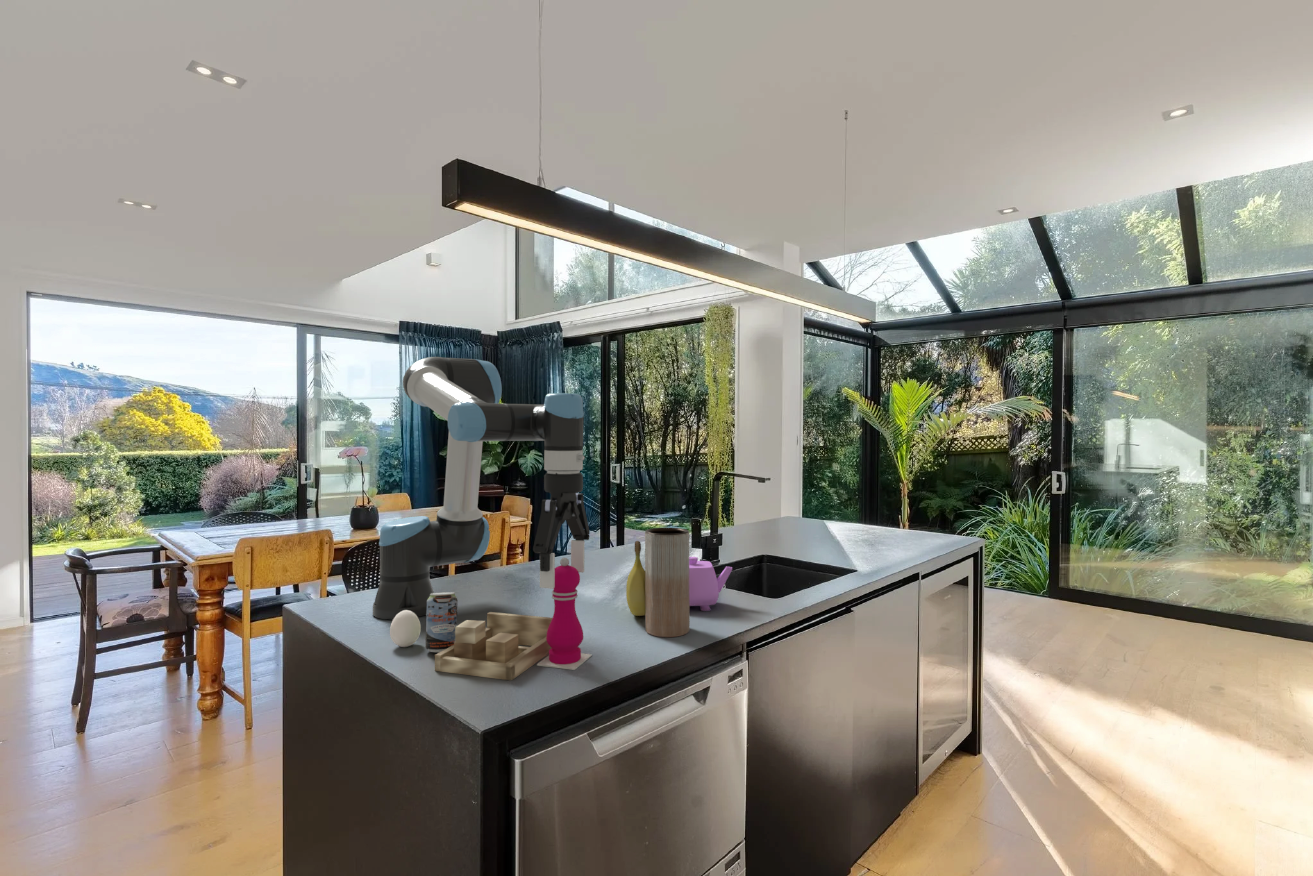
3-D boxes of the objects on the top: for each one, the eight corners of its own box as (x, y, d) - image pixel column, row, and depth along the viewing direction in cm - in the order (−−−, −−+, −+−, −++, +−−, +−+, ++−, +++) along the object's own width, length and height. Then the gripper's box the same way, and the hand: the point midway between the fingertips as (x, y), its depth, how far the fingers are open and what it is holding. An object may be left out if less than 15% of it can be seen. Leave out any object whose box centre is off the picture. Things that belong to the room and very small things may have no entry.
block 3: (486, 672, 119) (485, 640, 119) (500, 663, 124) (500, 632, 124) (504, 674, 118) (504, 642, 118) (518, 665, 123) (518, 634, 123)
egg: (387, 644, 135) (387, 609, 135) (417, 639, 138) (417, 605, 138) (392, 653, 130) (392, 616, 130) (423, 647, 133) (423, 611, 133)
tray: (434, 670, 120) (434, 639, 120) (490, 639, 138) (490, 612, 138) (511, 680, 115) (511, 647, 115) (558, 646, 133) (558, 618, 133)
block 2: (454, 668, 121) (454, 642, 121) (469, 659, 126) (469, 634, 126) (472, 670, 120) (472, 644, 120) (486, 661, 125) (486, 636, 125)
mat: (536, 665, 122) (536, 664, 122) (555, 651, 130) (555, 650, 130) (574, 670, 120) (574, 668, 120) (591, 655, 128) (591, 654, 128)
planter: (672, 640, 137) (672, 535, 136) (636, 632, 143) (635, 531, 142) (698, 629, 145) (697, 529, 144) (662, 621, 151) (662, 526, 150)
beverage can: (424, 658, 127) (424, 598, 127) (426, 646, 134) (426, 589, 134) (457, 654, 129) (457, 595, 128) (458, 643, 136) (457, 587, 136)
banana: (631, 602, 168) (631, 527, 167) (653, 602, 167) (653, 527, 167) (624, 629, 145) (624, 542, 145) (650, 629, 145) (649, 541, 145)
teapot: (655, 613, 158) (655, 562, 158) (655, 600, 170) (654, 552, 170) (735, 612, 158) (735, 561, 158) (729, 599, 170) (729, 552, 170)
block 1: (455, 642, 121) (455, 627, 121) (466, 635, 125) (466, 620, 125) (475, 643, 120) (474, 628, 120) (485, 636, 125) (485, 620, 125)
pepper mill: (551, 652, 129) (551, 553, 129) (586, 653, 128) (586, 554, 128) (542, 664, 122) (541, 561, 122) (578, 666, 121) (578, 561, 121)
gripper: (551, 477, 112) (551, 597, 112) (605, 468, 135) (604, 567, 136) (514, 476, 114) (513, 593, 114) (573, 467, 138) (572, 564, 138)
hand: (563, 579), depth 125 cm, fingers open, 13 cm apart
